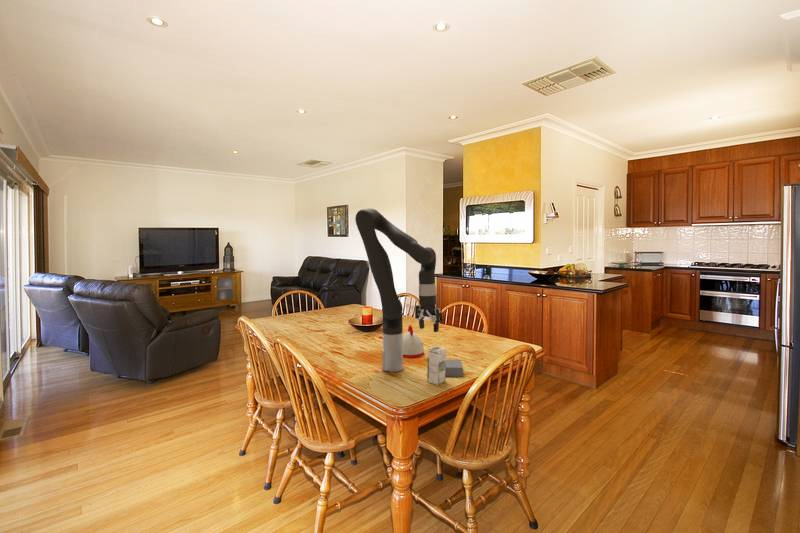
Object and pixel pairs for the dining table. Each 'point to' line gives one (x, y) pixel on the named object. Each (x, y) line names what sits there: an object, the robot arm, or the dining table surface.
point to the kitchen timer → (412, 345)
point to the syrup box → (436, 365)
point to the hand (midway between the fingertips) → (428, 330)
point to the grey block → (454, 368)
